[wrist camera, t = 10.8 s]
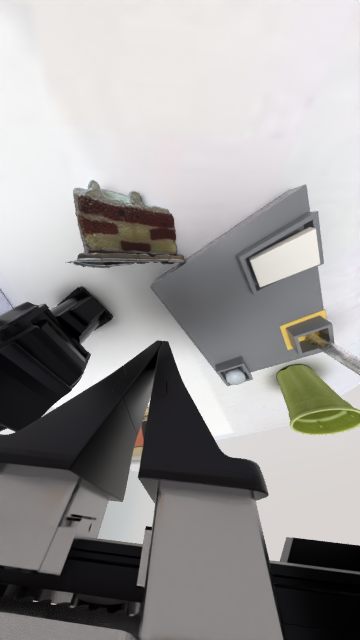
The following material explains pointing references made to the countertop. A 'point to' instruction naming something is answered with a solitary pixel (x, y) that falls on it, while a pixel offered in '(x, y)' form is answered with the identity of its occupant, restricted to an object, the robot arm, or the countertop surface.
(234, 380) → the push button
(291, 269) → the rocker switch
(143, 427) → the coffee cup
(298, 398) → the plant pot
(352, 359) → the toggle lever
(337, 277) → the countertop surface
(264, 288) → the switch panel
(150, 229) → the chocolate cake
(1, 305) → the soap bottle
